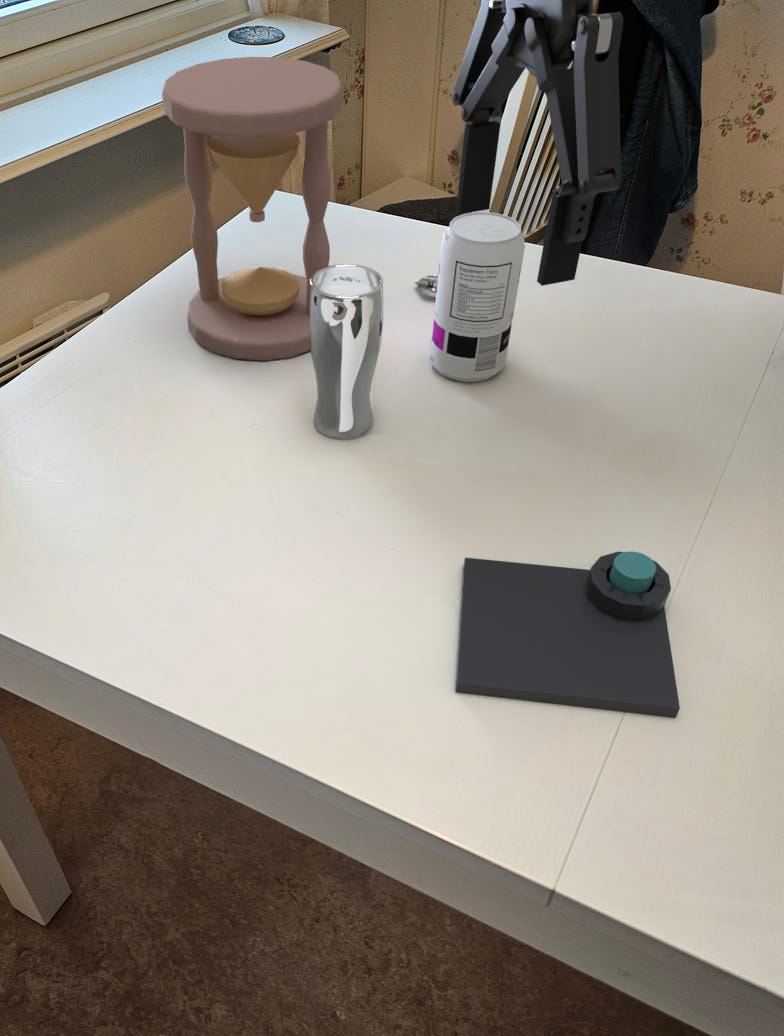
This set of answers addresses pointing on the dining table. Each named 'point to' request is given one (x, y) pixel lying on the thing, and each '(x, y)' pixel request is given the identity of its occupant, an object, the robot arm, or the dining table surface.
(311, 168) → the hourglass
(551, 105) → the robot arm
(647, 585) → the tare button
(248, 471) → the dining table surface
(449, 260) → the supplement can
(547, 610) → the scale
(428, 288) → the blueberries
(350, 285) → the beer glass
